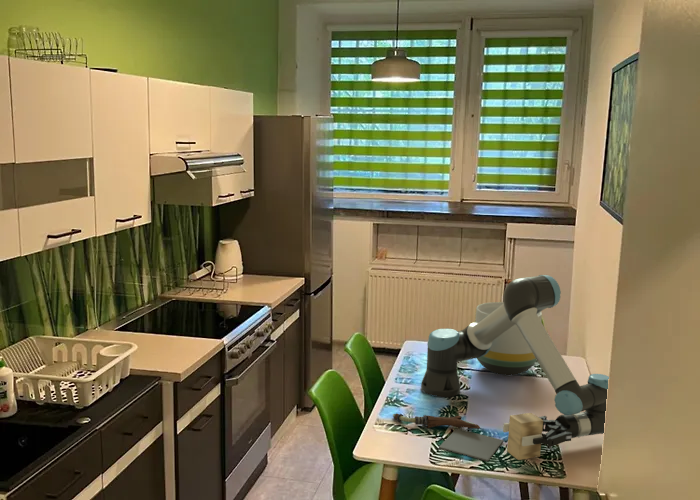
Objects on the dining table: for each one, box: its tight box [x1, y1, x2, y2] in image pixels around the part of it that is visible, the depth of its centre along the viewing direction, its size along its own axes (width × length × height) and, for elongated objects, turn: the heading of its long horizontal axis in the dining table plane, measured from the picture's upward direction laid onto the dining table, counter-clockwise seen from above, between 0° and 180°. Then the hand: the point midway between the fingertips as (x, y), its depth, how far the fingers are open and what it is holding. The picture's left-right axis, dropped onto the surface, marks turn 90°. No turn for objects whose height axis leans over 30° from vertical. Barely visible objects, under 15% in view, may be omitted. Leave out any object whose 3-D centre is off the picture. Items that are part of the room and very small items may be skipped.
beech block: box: [506, 412, 543, 461], centre depth 210 cm, size 8×6×12 cm
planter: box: [474, 301, 543, 376], centre depth 283 cm, size 27×27×27 cm
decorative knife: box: [392, 413, 481, 429], centre depth 229 cm, size 4×9×30 cm
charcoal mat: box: [438, 428, 504, 462], centre depth 216 cm, size 16×16×1 cm
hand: (513, 434), depth 209 cm, fingers open, 9 cm apart
